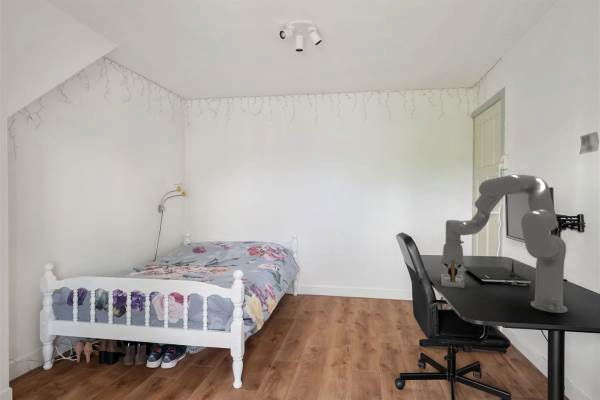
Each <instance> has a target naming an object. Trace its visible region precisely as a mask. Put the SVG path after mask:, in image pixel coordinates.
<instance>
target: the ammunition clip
mask: <svg viewBox="0 0 600 400" xmlns="http://www.w3.org/2000/svg"><path fill="white" fill-rule="evenodd" d="M450 267H451V276H450V278H451V282H455V267H456V265H455V264H454V260H453V261H452V263H450Z"/></svg>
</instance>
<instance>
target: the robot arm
mask: <svg viewBox="0 0 600 400" xmlns="http://www.w3.org/2000/svg"><path fill="white" fill-rule="evenodd" d="M478 192H479V196H478V198H477V199H476V200H475V202H474V206H475V208H476V209H477V210H476V213H475V215H474V216H473V217H472V218H471V219H469V220H458V219H457V220H456V219H448V220H446V221H445V244H443V247H442V259H441V261H440V264H442V265H443V266H445V267H446V268H447V274H449V276H451V263H452V261H453V260H454V265H455V277H456V275H458V270H459V269H460V268H461V267H464V266H466V263H465V260H464V252H463V251H464V249H463V245H462V244H464V240H461V238H462V237H461V236H469V235H476V234H478V233H479V232H481V231H482V230H483V229H484V227H485V226H486V225H487V223H488V222H489V220H490V217H491V212H492V211H493V210H494V209H495V207H497V204H499V202H501V200H502V199H503V197H505V196H506V195H513V194H514V195H515V194H517V195H518V194H519V195H520V194H527V195H528V198H527V199H528V200H527V201H528V203H527V204H528V207H529V211H528V212H527V211H526V212H525V213H524V214H523V216H522V218H521V223H520V224H521V225H520V226H521V230H522V234H523V240H524V245H525V248H526V250H527V253H528V254H529V255H530V256H531V257H533V258H534V259H536V261H535V284H534V285H535V286H534V287H535V291H534V300H532V301H530V306H531V307H533V308H534V309H536V310H538V311H539V310H540V311H542V312H543V311H544V312H548V313H554V314H564V313H567V312H568V308H567V307H566V305H564V274H565V273H564V271H565V269H564V268H565V259H566V254H567V244H566V243H565V241H564V240H563V239H562V238H561V237H560V236H558V235H555V234H550V232H551V231H553V230H555V229H556V228H557V226H558V219H557V216H556V211H555V207H554V202H553V200H552V195H551V190H550V187H549V185H548V183H547V182H546V181H545V180H544V179H542V178H540V177H538V176H535V175H529V174H528V175H526V174H507V175H504V176H499V177H495V178H489V179H485V180H483V181H482V182H481V183H480V185H479V186H478Z"/></svg>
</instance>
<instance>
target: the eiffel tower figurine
mask: <svg viewBox="0 0 600 400" xmlns="http://www.w3.org/2000/svg"><path fill="white" fill-rule="evenodd" d="M514 267H515V266H514V260H512V261H511V271H510V274H509V276H508V278H507V279H509V280H510V279H512V280H515V279H517V280H518V278H517V276H516V274H515V268H514ZM515 281H516V280H515ZM503 284H505V285H506V284H507V282H503ZM511 285H516V286H523V287H524V286H528V283H523V284H517V283H511Z"/></svg>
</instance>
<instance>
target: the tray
mask: <svg viewBox="0 0 600 400" xmlns="http://www.w3.org/2000/svg"><path fill="white" fill-rule="evenodd" d="M440 279H441V280H440V281H441V282H440V284H441V287H442V286H443V287H450V288H458V289H459V288H460V289H465V280H464V277H463V275H459V274H457V275H456V277H455V282H451V278H450V276H449V274H448V273H441V278H440Z"/></svg>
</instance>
